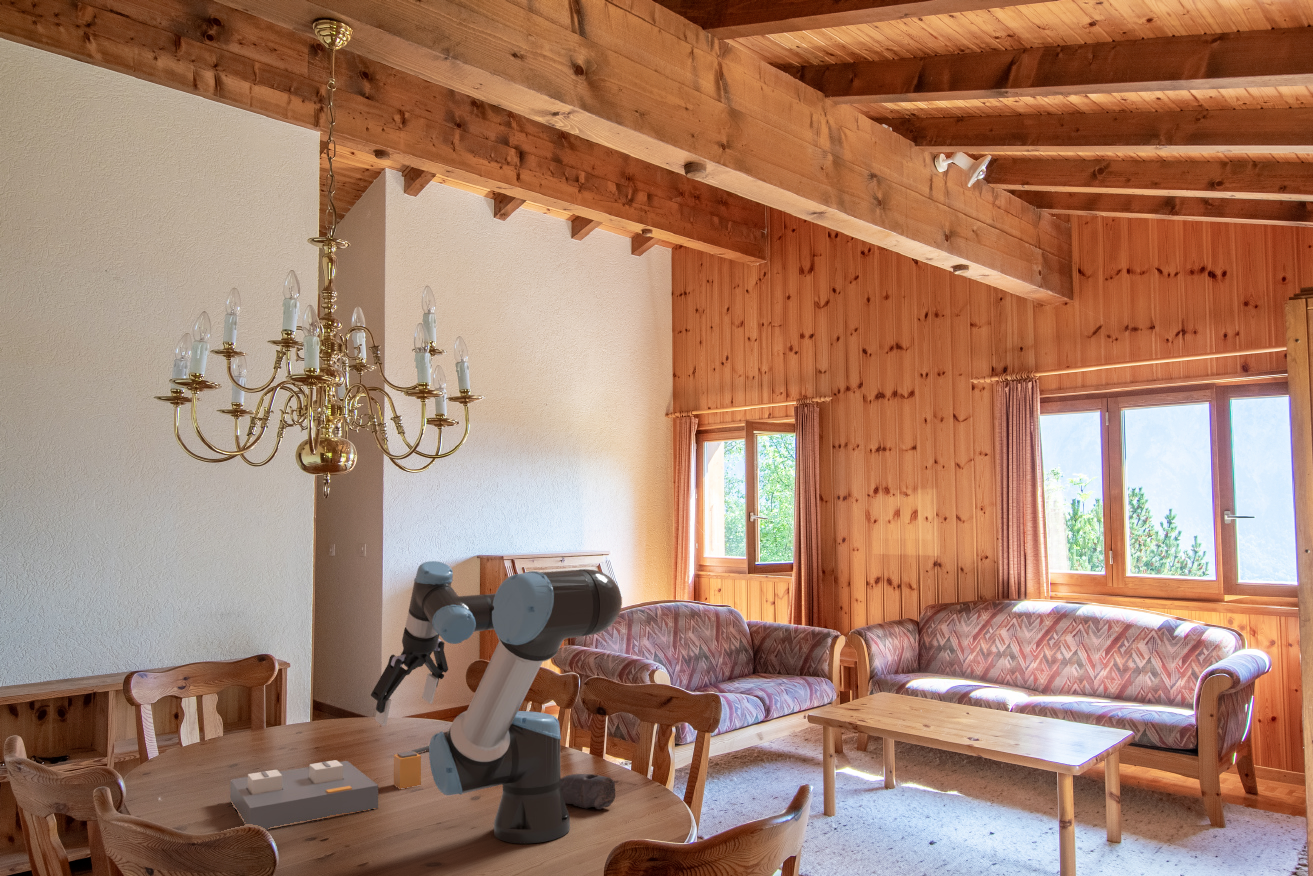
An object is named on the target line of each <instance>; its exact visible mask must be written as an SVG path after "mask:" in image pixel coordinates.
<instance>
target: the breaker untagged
mask: <svg viewBox="0 0 1313 876" xmlns="http://www.w3.org/2000/svg"><path fill="white" fill-rule="evenodd" d="M247 777H248V792H249V793H250V794H251V795H255V794H261V793H267V792H273V791H279V790H282V775H281V774H280V771H279V770H278V769H273V770H271V769H270V770H266V771H264V770H263V771H260V772H259V771H257V772H252V773H247Z"/></svg>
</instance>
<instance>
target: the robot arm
mask: <svg viewBox="0 0 1313 876" xmlns="http://www.w3.org/2000/svg"><path fill="white" fill-rule="evenodd" d="M453 571H454V570H453V569H452V567H451V566H450V565H449V564H446V563H444V562H440V561H437V560H434V561H430V560H428V561H425V562H423V563H420V564H419V566H418V568H417V571H416V575H415V578H414V579H413V582H414V583H413V587H412V592H411V597H410V601H409V606H408V607H409V608H408V611H407V612H408V613H407V616H406V617H407V618H406V620H405V621H406V622H405V627H404V629H403V634H402V639H401V643H402V647H403V648H402V651H401V652H400V653H401V654H399V655H397V656H396V655H395V654H391V655H390V656H389V659H388V663H387V665H386V667H385V668H384V671H383V672H382V674H381V676H380V677H379V678H378V681H377V683H376V685H375V686H374V688H373V689H372V692H371V693H370V696H371V698H373V699H374V700H376V707H375V710H376V713H375V718H374V720H375V721H376V722H377V723H378V724H380V725H381V726H382V727H385V726H386V725H387V721H388V717H389V712H390V707H391V703H392V699H391V697H392V695H394V692H395V691H396V690H397V688H398V687H399V686H400V685H401V683H402V682H403V680H404V679H405V678H406V676H409V675H410V674H411V673H412V671H414V670H416V669H417V668H421V667H423V666H424V665H425V666H426V668H427V669H428V671H429V672H430V673H428V674H427V675H426V679H425V684H424V687H423V692H422V697H421V698H422V699H423V700H424V701H426V703H428V704H431V705H432V704H433V702H434V698H435V694H436V689H437V688H438V685H439V681H440V680H443V679H444V677H445V674H444V673H447V672H448V670H449V666H448V661H447V657H446V653H445V642H446V643H448V644H452V645H456V644H461V643H462V642H464V641H466V640H468V639H470V638H471V637H472V636H473V634H474V632H475V633H476V632H484V631H491V630H494V632H495V634H496V635H497V636H496V637H497V638H498V639H497V640H498V643H497V645H496V646H495V649H494V652H493V653H492V656H491V658H490V660H489V662H488V664H487V667H486V668H485V671H484V673H483V675H482V676H481V680H480V682H479V684H478V686H477V688H476V690H475V692H474V695H473V697H472V699H471V701H470V703H469V706H468V707H467V710H465V711H463V712H461V713H460V714H458V715H457V716H456V717H454V719H453V721H452V723H451V725H450V728H449V729H448V730H447V731H444V732H443V731H439V732H437V733H435V734H433V735H432V736H431V739H430V741H429V745H428V746H429V750H428V756H429V758H428V759H429V766H430V770H431V775H432V778H433V781H434V783H435V785H436V789H438V790H439V792H440V793H442V794H443V795H444V796H454V795H463V794H466V793H472V792H475V791H479V790H484V789H489V788H494V787H498V786H501V785H502V793H501V797H500V802H499V804H498V808H497V812H496V815H495V817H494V822H493V835H494V837H496V838H497V839H498V840H500V841H503V842H507V843H511V844H539V843H545V842H548V841H549V842H550V841H553V840H554V841H555V840H557V839H559V838H562V837H563V836H565V835H567V834H568V833H569V831H570V829H571V819H570V814H569V810H568V808H567V807H568V806H567V805H566V804H567V803H565V801H564V798H563V795H562V792H561V778H562V777H561V776H562V775H561V740H562V736H561V729H560V728H561V727H560V721H559V720H558V718H557V717H556V716H555V715H552V714H549V713H545V712H538V711H525V710H520V708H521V706H522V704H523V702H524V700H525V698H526V696H527V694H528V693H529V690H530V688H531V686H532V684H533V682H534V680H535V678H536V676H537V674H538V673H539V670H540V668H541V666H542V665H543V662H546V661H549V660H551V659H552V658H554V657H555V656H556V655H557V653H558V652H559V649H560V648H561V646H562V644H563V642H564V641H565V639H573V638H579V637H588V636H593V635H596V634H600V633H601V632H604V631H606V630H607V629H609V627H611V626H612V625H613V624H614V623H615V622H616V620H617V619H618V617H619V615H620V612H621V609H622V606H623V605H622V604H623V603H622V602H623V601H622V599H623V597H622V593H621V591H620V588H619V586H618V584H617V582H616V581H615V580H614V579H613V578H612V577H611V576H609V575H608V574H607V573H604V572H603V571H599V570H596V569H588V568H585V569H584V568H582V569H569V570H568V569H567V570H554V571H553V570H552V571H541V572H540V571H536V570H531V571H525V572H523V573H516V574H513V575H510V576H508V577H507V578H506V579H504V580H503V581H502V583H500V585H499V586H498V588H497V590H496V592H494V593H488V594H487V593H486V594H484V593H483V594H471V595H459V594H457V592H456V591H455V589H454V588H453V587H452V583H453V581H454V580H453V576H454V572H453ZM439 637H440V638H441V639H442V640H441V639H440V638H439ZM432 654H433V656H434V657H433V658H434V660H435V662H434V660H433V659H432V657H431V655H432ZM403 665H404V667H406V669H405V668H404V667H403Z"/></svg>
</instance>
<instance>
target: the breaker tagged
mask: <svg viewBox="0 0 1313 876" xmlns="http://www.w3.org/2000/svg"><path fill="white" fill-rule="evenodd" d="M340 762H341V761H338V760H337V759H336V760H335V759H334V760H328V761H326V760H325V761H321V762H315V763H310V764H309V766H308V767H309V780H310V781H311V782H312V783H313V784H320V783H325V782H331V781H337V780H343V765H342V764H341V763H340Z"/></svg>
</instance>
